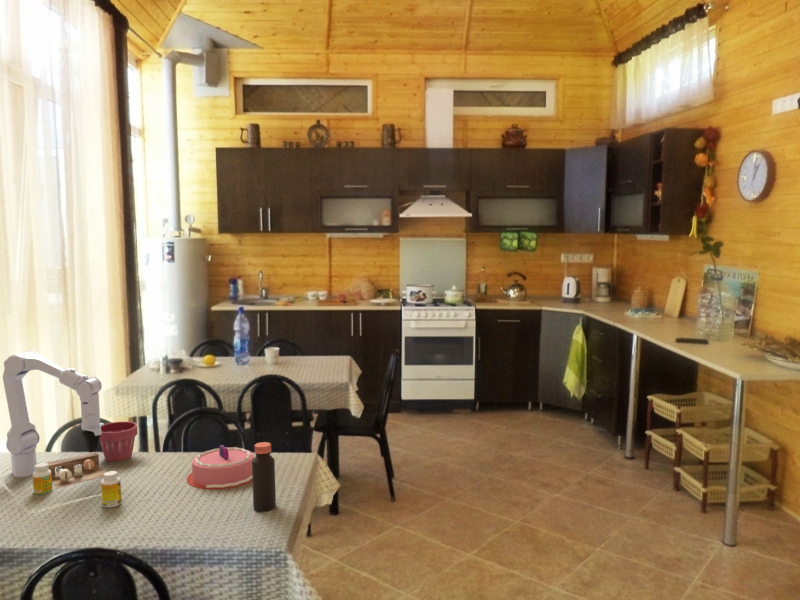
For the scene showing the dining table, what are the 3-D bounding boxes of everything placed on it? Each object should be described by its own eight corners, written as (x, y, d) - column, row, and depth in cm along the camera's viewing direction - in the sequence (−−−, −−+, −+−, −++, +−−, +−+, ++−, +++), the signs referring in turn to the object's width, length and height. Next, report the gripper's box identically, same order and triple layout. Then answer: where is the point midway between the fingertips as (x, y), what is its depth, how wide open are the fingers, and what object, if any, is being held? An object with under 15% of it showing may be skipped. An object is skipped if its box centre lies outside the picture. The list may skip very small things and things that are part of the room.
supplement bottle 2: (122, 506, 197) (120, 474, 196) (102, 509, 195) (100, 477, 194) (121, 499, 202) (119, 468, 201) (102, 503, 200) (100, 471, 199)
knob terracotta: (76, 465, 230) (76, 456, 230) (87, 463, 233) (86, 453, 232) (84, 471, 224) (83, 462, 224) (95, 469, 226) (94, 459, 226)
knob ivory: (53, 475, 220) (52, 465, 220) (64, 473, 223) (64, 463, 223) (60, 482, 214) (60, 472, 214) (72, 479, 217) (71, 469, 216)
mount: (43, 477, 222) (42, 462, 221) (94, 465, 234) (93, 451, 233) (57, 490, 210) (55, 474, 210) (110, 477, 222) (109, 461, 221)
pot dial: (73, 476, 220) (72, 465, 220) (81, 474, 222) (80, 463, 222) (75, 478, 219) (74, 466, 218) (83, 476, 220) (83, 465, 220)
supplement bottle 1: (44, 497, 205) (42, 468, 204) (29, 496, 206) (28, 467, 205) (56, 491, 210) (54, 462, 209) (42, 489, 211) (40, 461, 210)
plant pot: (138, 462, 237) (137, 429, 235) (97, 468, 231) (95, 433, 230) (138, 451, 250) (137, 419, 249) (99, 456, 244) (97, 423, 243)
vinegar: (256, 514, 190) (254, 449, 189) (251, 505, 196) (248, 443, 195) (278, 509, 194) (276, 445, 192) (272, 501, 200) (270, 439, 198)
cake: (271, 479, 219) (270, 449, 218) (199, 496, 205) (198, 464, 204) (245, 459, 240) (244, 432, 239) (177, 473, 225) (176, 444, 224)
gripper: (109, 414, 217) (111, 453, 219) (95, 407, 228) (97, 443, 229) (88, 418, 213) (90, 458, 214) (74, 410, 223) (76, 448, 224)
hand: (92, 451), depth 221 cm, fingers closed
